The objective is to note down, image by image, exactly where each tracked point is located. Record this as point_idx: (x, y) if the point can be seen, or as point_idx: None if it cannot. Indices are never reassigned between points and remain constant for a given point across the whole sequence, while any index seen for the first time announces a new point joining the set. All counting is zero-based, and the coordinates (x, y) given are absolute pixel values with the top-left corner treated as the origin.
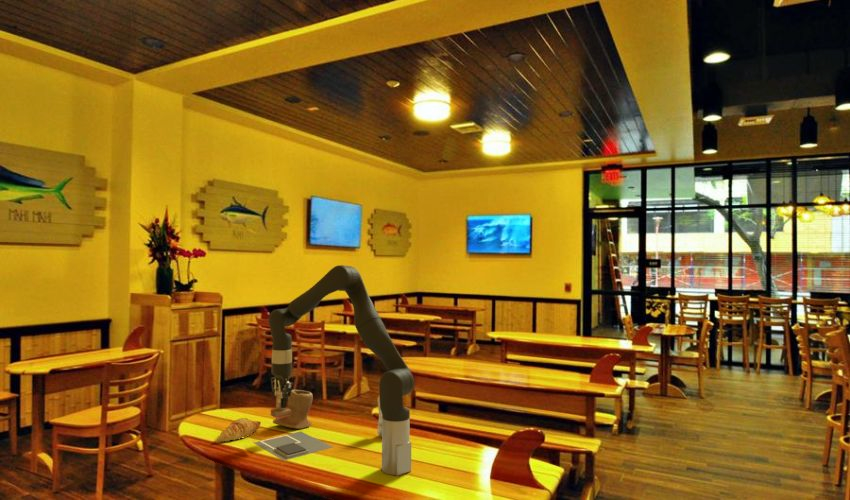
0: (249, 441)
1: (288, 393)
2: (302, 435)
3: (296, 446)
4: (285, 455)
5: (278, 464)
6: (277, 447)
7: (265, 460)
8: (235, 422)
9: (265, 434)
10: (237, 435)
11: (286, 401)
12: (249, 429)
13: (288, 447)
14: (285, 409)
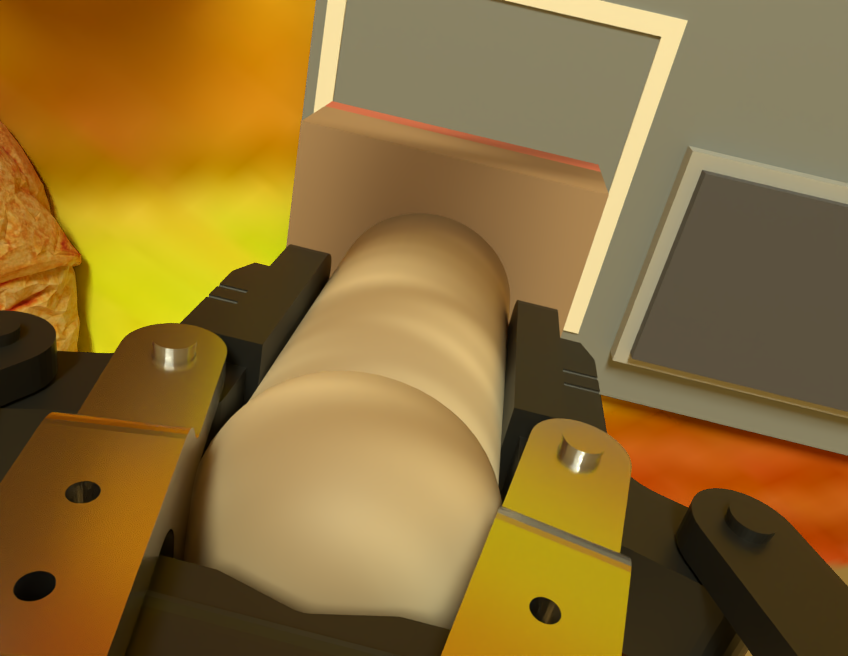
0: (180, 268)
1: (736, 593)
2: None
3: (820, 241)
4: (831, 411)
5: (834, 483)
6: (651, 361)
7: (671, 476)
8: None
9: (91, 36)
10: (60, 329)
11: (598, 411)
12: (18, 216)
13: (756, 306)
14: (494, 255)
